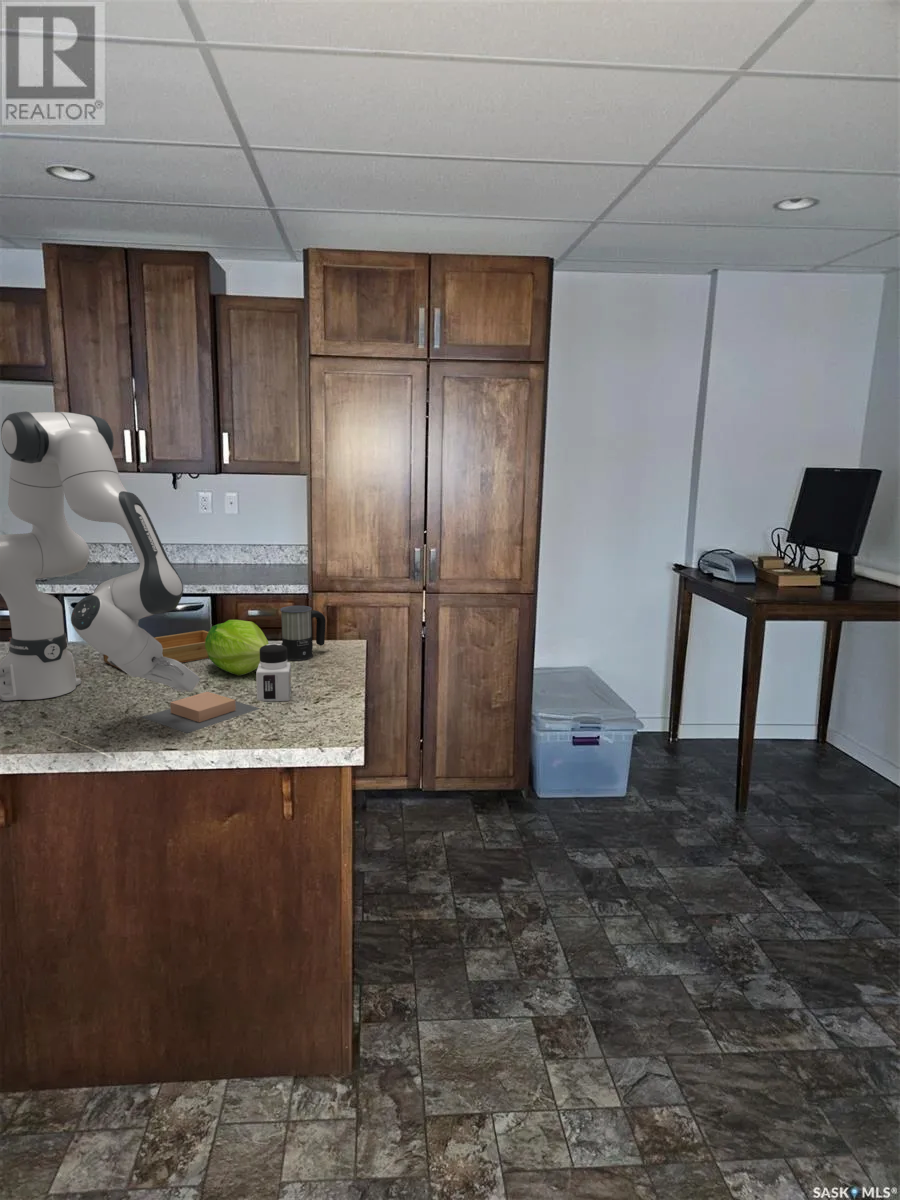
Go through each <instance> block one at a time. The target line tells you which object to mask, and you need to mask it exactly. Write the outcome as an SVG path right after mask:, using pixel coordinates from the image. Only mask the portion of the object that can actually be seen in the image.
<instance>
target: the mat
mask: <svg viewBox="0 0 900 1200" xmlns="http://www.w3.org/2000/svg"><path fill="white" fill-rule="evenodd" d="M235 706H236V710H235V711H232V712H229V713H226V714H223V715H220V716H217V717H214V718H211V719H208V720H205V721H202V722H197V721H194V720H191V719H188V718H185V717H182V716H179V715H176V714H173V713H171V707H170V708H167V709H165V710H160V711H157V712H155V713H151V714H150V713H149V714H147V715H144V716H141V719H142V718H143V719H145V720H147V721H151V722H154V723H157V724H159V725H162V726H165V727H168V728H170V729H173V730H177V731H179V732H182V733H186V734H190V733H192V732H196V731H198V730H201V729H204V728H207V727H210V726H213V725H216V724H219V723H221V722H224V721H228V720H231V719H233V718H236V717H239V716H242V715H245V714H248V713H251V712H254V711H257V710H260V709H261V708H260V707H257V706H253V705H249V704H247V703H244V702H239V701H237V700H235Z"/></svg>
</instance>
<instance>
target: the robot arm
mask: <svg viewBox="0 0 900 1200" xmlns="http://www.w3.org/2000/svg"><path fill="white" fill-rule="evenodd" d="M0 428H1V429H0V436H1V444H2V447H3V449H4V451H5V453H6V454H7V455H8V456H9V457H10V458H11V460H10V468H9V481H8V483H9V484H8V495H7V497H8V498H7V500H8V501H7V504H8V508H9V510H10V512H11V514H13V515H14V516H15V517H16V518H18V519H20V520H21V521H23V522H26V523H28V524H30V525H32V528H31V532H27V533H24V532H23V533H11V534H9V533H8V534H0V595H1V596H2V598H3V600H4V601H5V604H6V606H7V610H8V615H9V620H10V627H11V628H10V629H11V636H10V637H8V639H10V640H9V641H8V646H9V647H8V653H7V654H6V655H5V656H4V658H2V660H0V700H1V701H3V702H4V701H6V702H7V701H18V700H22V701H23V700H24V701H25V700H27V701H28V700H31V701H33V700H43V699H49V698H56V697H60V696H64V695H66V694H68V693H71V692H73V691H74V690H76V687H77V686H78V685H80V684H81V683H82V679H81V678H80V677H77V674H76V668H75V663H74V656H73V653H72V652H71V651H69V650H68V649H67V648H68V638H67V637H68V636H67V633H66V632H65V628H64V627H65V626H64V614H63V613H64V612H63V605H62V603H61V602H60V601H59V600H58V597H57V598H56V597H55V596H53V595H51V594H48V593H46V592H43V591H40V590H39V589H38V588H37V584H36V580H38V579H46V578H47V579H48V578H56V577H57V578H58V577H65V576H69V575H72V574H76V573H79V572H82V571H83V570H84V569H85V568H86V567H87V565H88V563H89V561H90V549H89V546H88V544H87V541H86V540H85V539H84V538H83V537H82V536H81V535H80V534H78V533H77V532H75V531H74V530H73V529H72V527H71V526H70V524H69V523H68V521H67V519H66V515H65V504H64V503H65V502H64V500H66V502H67V504H68V506H69V508H70V509H71V511H73V512H74V513H75V514H76V515H78V516H79V517H80V518H83V519H85V520H88V521H92V522H99V523H101V522H102V523H114V524H117V525H119V526H121V527H122V528H123V530H125V532H126V534H127V537H128V539H129V541H130V543H131V545H132V547H133V550H134V552H135V555H136V557H137V559H138V561H139V567H138V569H137V570H134V571H131V572H128V573H125V574H123V575H122V574H121V575H118V576H115V577H113V578H110V579H108V580H105V581H103V582H101V583H99V584H98V585H96V588H95V589H94V591H93V593H92V594H89V595H87V596H85V597H83V598H81V599H80V600H79V601H78V602H77V603H76V605H75V606H74V608H73V610H72V612H71V616H70V623H71V625H72V627H73V629H74V630H75V632H76V634H78V635H79V637H80V638H81V639H82V640H83V641H84V642H85V643H87V644H88V645H89V646H91V648H93V649H94V650H96V651H97V652H98V653H100V654H102V655H103V654H104V655H107V656H108V659H107V661H108V662H109V663H111V664H112V665H114V666H117V667H119V668H120V669H119V668H118V669H119V670H121V671H123V672H124V673H126V674H127V675H128V676H130V677H132V678H142V679H145V680H148V681H152V682H155V683H159V684H163V685H164V686H168V687H170V688H172V689H173V690H174V691H176V692H180V693H183V694H184V693H185V692H189V693H192V692H193V691H194V690H195V688H196V687H197V685H199V682H200V680H201V679H200V676H199V675H198V674H197V673H196V672H194V671H193V670H191V668H188V667H187V666H186V665H185V664H183V663H180V662H178V661H176V660H174V659H170V658H167V657H163V654H162V652H163V648H162V645H161V643H159V642H158V641H157V640H156V639H155V638H154V636H153V635H151V634H150V633H149V632H147V630H145V629H144V628H142V627H140V626H139V621H140V620H141V619H144V618H147V617H150V616H153V615H159V614H163V613H168V612H172V611H173V610H175V609H176V608H177V607H178V605H179V604H180V601H181V599H182V596H183V593H184V584H183V581H182V578H181V577H180V575H179V573H178V571H176V569H175V567H174V566H173V564H172V563H171V561H170V559H169V557H168V555H167V553H166V550H165V548H164V546H163V544H162V541H161V539H160V537H159V535H158V533H157V530H156V529H155V526H154V523H153V521H152V520H151V519H152V518H151V517H150V515H149V513H148V512H147V509H146V507H145V506H144V503H143V502H142V500H141V499H140V498H139V497H138V496H137V495H136V494H135V493H132V492H129V491H128V490H127V489H126V488H125V486H124V485H123V483H122V481H121V478H120V473H119V470H118V467H117V464H116V461H115V459H114V456H113V453H112V452H113V449H114V444H115V443H114V441H115V439H114V434H113V429H112V428H111V426H110V425H109V423H108V421H106V420H105V419H104V418H102V417H100V416H96V415H92V414H85V415H84V414H79V413H76V412H75V413H74V412H68V411H67V412H66V411H55V412H54V411H53V412H52V411H45V412H43V411H40V412H39V411H37V412H29V411H18V412H17V411H16V412H13V413H12V412H11V413H9V414H8V415H7V416H6V417H5V419H4V420H3V421H2V424H1V427H0ZM112 665H111V666H112ZM114 666H113V667H114Z"/></svg>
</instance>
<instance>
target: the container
mask: <svg viewBox="0 0 900 1200" xmlns="http://www.w3.org/2000/svg"><path fill="white" fill-rule="evenodd" d="M281 644H282V643H281ZM281 644H280V643H268V645H264V646H262V647H261V648H260V663H259V665H258V668H256V673H255V674H256V677H255V678H256V679H255V680H256V700H257V701H261V702H266V703H267V702H289V701H290V699H291V695H292V693H291V692H292V677H291V671H292V670H291V669H292V668H291V665H292V664H291V662H288V660H287V648H286V646H284V645H281Z"/></svg>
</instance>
